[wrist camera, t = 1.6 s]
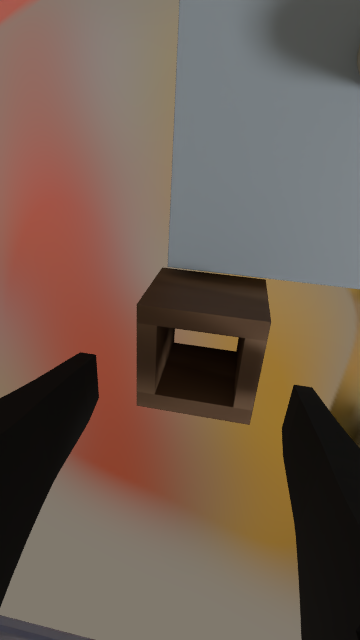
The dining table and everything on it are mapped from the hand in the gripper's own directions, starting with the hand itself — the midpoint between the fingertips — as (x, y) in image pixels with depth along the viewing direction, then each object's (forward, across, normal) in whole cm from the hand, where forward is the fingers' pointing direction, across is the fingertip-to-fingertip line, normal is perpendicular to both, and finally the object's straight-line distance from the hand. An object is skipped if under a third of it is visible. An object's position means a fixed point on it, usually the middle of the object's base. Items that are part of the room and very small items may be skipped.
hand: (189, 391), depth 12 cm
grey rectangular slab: (+6, -5, -11) cm, 13 cm away
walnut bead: (+6, 0, 0) cm, 6 cm away
